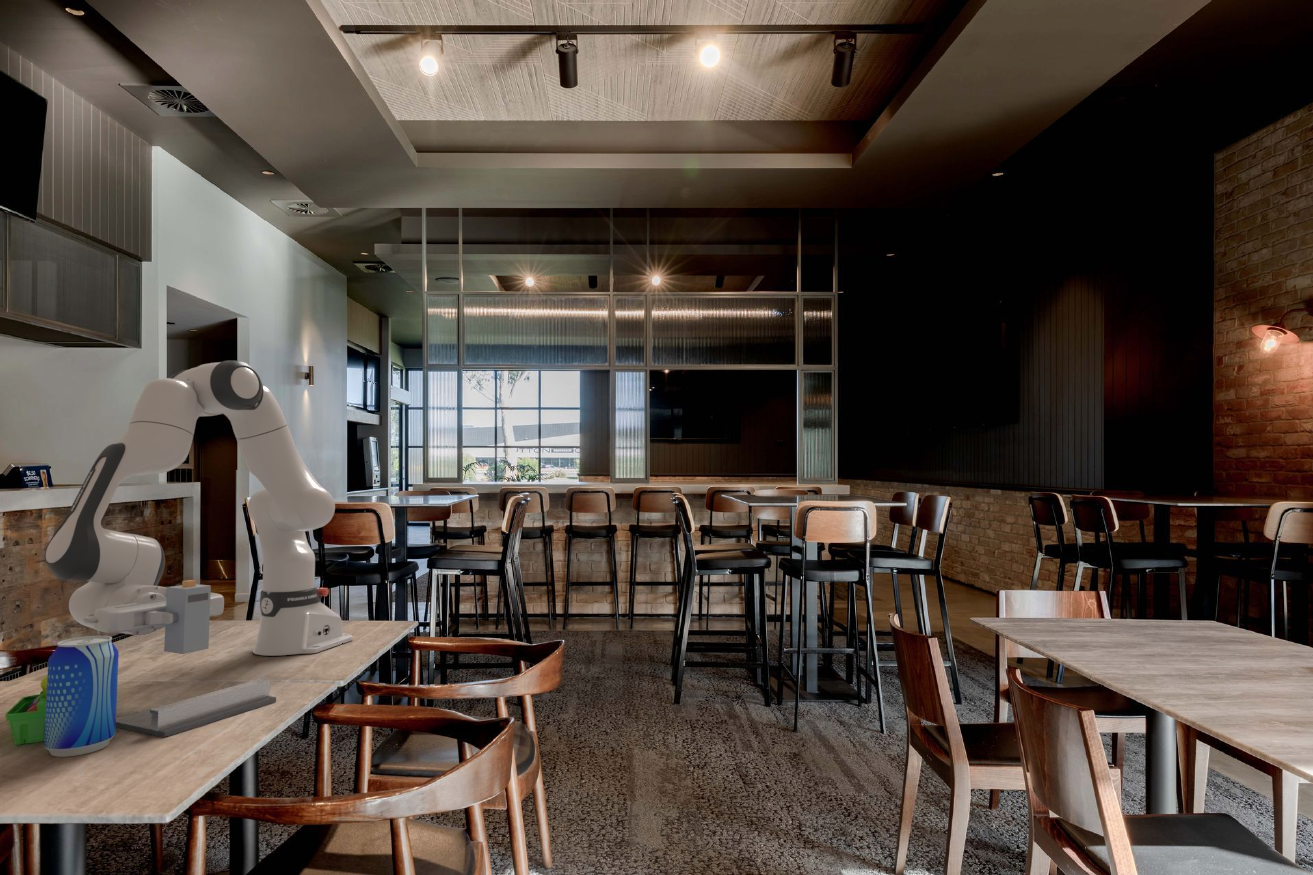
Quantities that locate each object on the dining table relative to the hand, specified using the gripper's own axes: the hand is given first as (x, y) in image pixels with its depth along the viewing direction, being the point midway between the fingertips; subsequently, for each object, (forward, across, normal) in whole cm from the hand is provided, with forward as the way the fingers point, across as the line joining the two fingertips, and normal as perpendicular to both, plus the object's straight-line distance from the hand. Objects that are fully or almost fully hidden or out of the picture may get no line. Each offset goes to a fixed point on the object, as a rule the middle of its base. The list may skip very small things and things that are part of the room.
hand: (191, 615), depth 129 cm
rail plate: (+2, 0, +16) cm, 17 cm away
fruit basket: (-10, -16, +17) cm, 25 cm away
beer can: (+2, -18, +17) cm, 25 cm away
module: (-1, 0, +6) cm, 6 cm away
